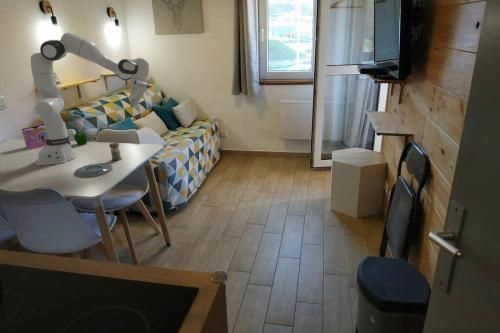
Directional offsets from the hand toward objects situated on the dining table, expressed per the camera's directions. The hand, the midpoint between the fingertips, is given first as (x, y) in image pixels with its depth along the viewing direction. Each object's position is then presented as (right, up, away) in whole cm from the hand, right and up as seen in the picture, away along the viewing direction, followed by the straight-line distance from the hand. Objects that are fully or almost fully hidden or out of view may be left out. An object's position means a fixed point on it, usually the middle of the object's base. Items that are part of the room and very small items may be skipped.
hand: (133, 106), depth 214 cm
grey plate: (-18, -39, -14) cm, 45 cm away
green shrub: (-49, -21, +36) cm, 64 cm away
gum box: (-76, -21, +37) cm, 87 cm away
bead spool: (-11, -32, +3) cm, 34 cm away
